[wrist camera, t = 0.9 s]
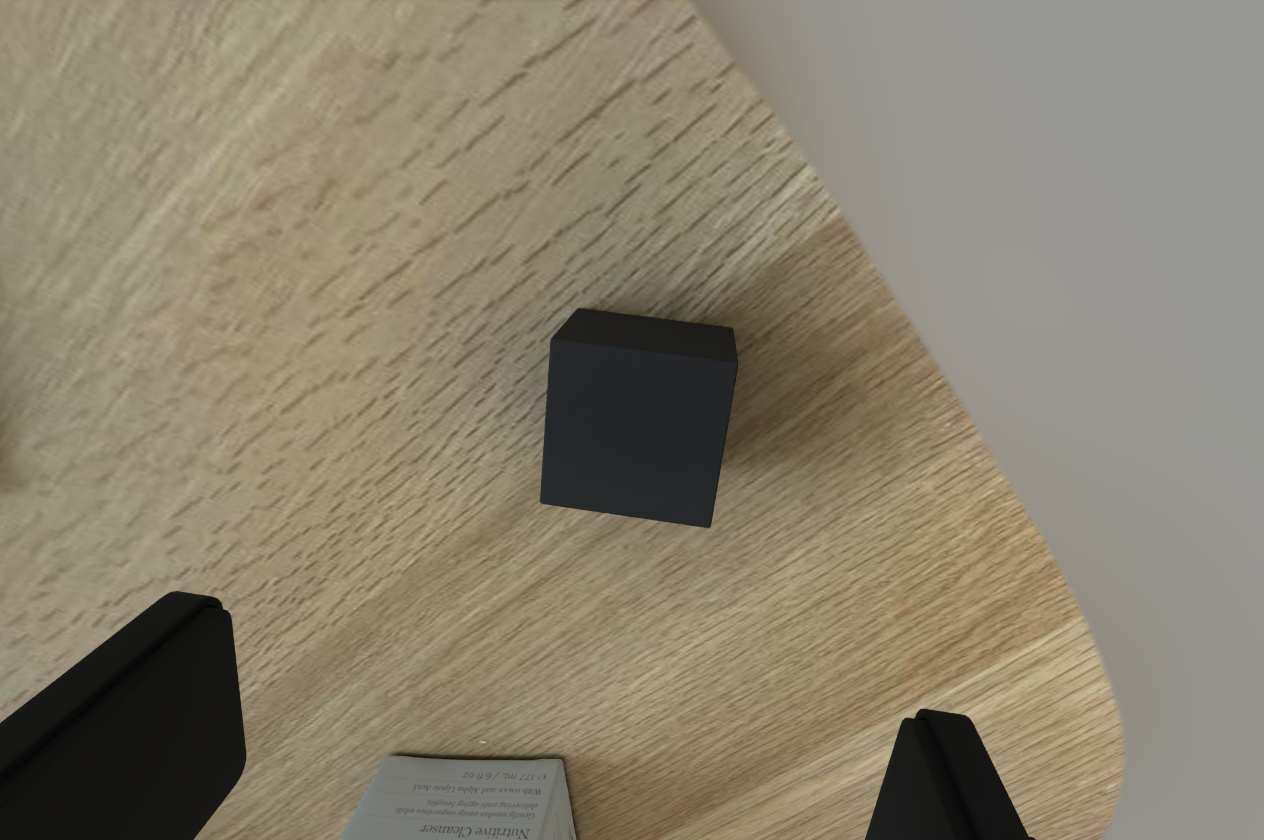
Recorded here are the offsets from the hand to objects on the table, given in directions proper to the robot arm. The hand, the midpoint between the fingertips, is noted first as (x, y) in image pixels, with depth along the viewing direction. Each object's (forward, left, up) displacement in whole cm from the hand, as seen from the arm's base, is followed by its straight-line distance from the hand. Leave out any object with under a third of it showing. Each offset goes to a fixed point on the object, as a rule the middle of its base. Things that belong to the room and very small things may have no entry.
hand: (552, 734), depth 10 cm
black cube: (0, 0, -14) cm, 14 cm away
